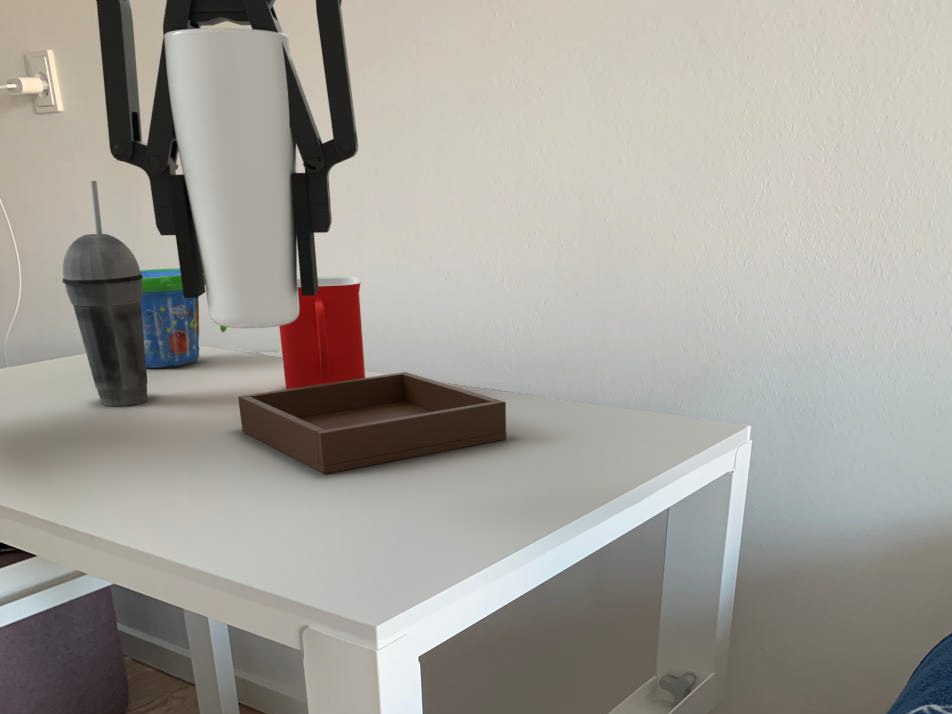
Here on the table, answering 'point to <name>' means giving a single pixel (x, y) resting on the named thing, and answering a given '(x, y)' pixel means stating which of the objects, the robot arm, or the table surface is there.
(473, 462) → the table surface
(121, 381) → the beverage cup
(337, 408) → the serving tray
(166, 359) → the snack cup
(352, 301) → the mug
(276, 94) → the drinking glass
